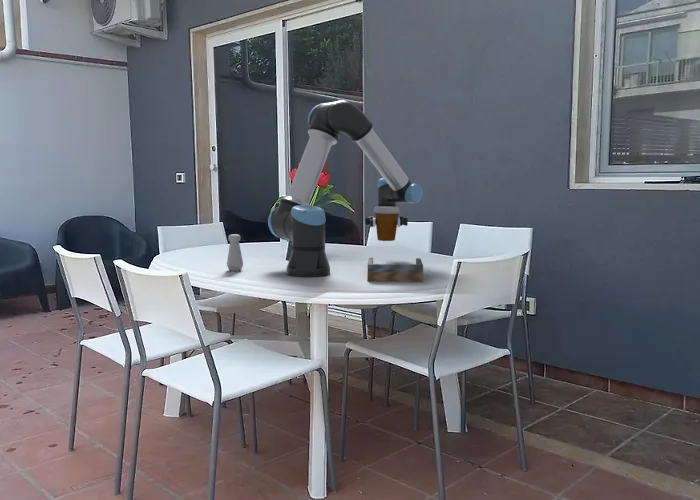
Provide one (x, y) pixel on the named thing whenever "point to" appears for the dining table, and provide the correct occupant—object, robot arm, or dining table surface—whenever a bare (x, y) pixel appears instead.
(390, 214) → the disposable coffee cup
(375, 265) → the dock
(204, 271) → the dining table surface
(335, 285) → the dining table surface
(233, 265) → the salt shaker
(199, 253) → the dining table surface
